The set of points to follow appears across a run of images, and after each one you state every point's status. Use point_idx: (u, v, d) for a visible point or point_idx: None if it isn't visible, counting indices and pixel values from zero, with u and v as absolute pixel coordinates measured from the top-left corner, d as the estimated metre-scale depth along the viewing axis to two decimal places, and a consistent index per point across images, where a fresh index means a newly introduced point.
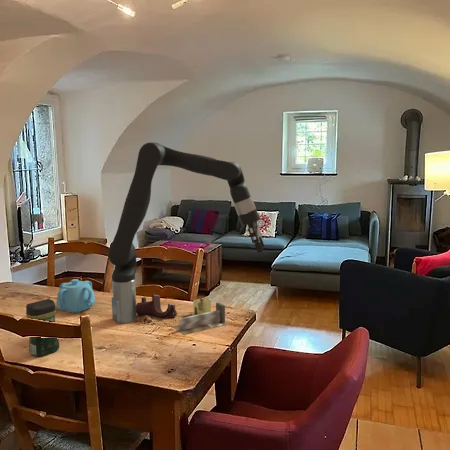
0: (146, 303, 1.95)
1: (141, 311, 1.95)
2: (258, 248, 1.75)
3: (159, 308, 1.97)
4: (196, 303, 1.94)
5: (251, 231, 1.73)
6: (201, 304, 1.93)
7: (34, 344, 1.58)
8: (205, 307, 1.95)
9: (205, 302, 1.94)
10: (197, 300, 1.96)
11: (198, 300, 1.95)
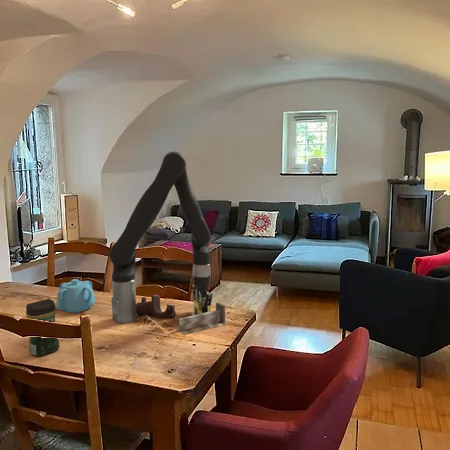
0: (146, 303, 1.95)
1: (141, 311, 1.95)
2: (205, 311, 1.93)
3: (159, 308, 1.97)
4: (196, 303, 1.94)
5: (209, 297, 1.90)
6: (201, 304, 1.93)
7: (34, 344, 1.58)
8: None
9: None
10: (197, 300, 1.96)
11: (198, 300, 1.95)
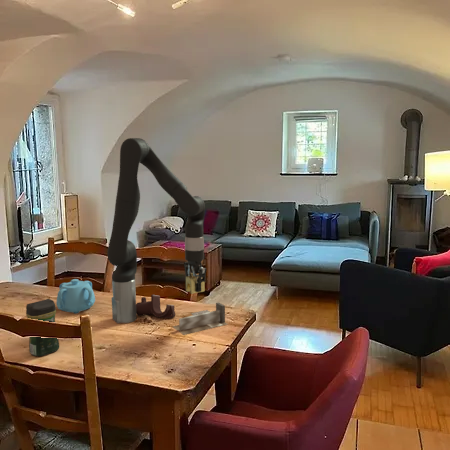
0: (145, 303, 1.95)
1: (141, 310, 1.95)
2: (199, 288, 1.80)
3: (159, 309, 1.97)
4: (189, 279, 1.80)
5: (203, 272, 1.76)
6: (194, 280, 1.79)
7: (34, 344, 1.58)
8: None
9: None
10: (189, 276, 1.82)
11: (191, 276, 1.82)
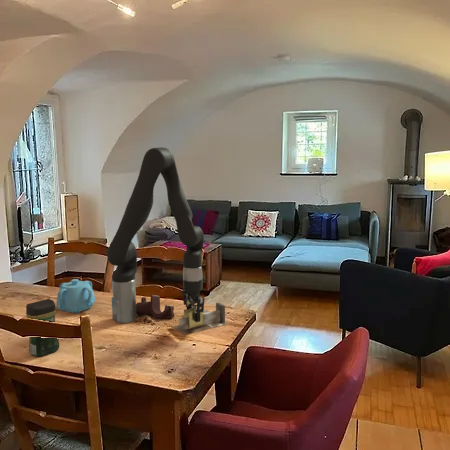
0: (145, 303, 1.95)
1: (140, 311, 1.95)
2: (198, 318, 1.78)
3: (158, 309, 1.97)
4: (187, 313, 1.79)
5: (201, 302, 1.75)
6: (192, 314, 1.79)
7: (34, 344, 1.58)
8: None
9: None
10: (188, 309, 1.81)
11: (189, 310, 1.81)
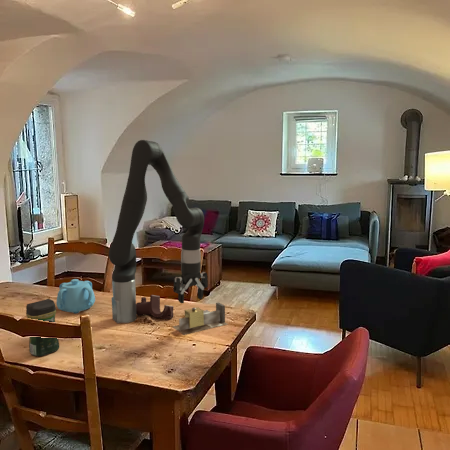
0: (145, 303, 1.95)
1: (140, 310, 1.95)
2: (178, 298, 1.76)
3: (158, 309, 1.96)
4: (187, 313, 1.79)
5: (175, 281, 1.73)
6: (193, 314, 1.78)
7: (34, 344, 1.58)
8: (197, 318, 1.80)
9: (197, 312, 1.79)
10: (188, 310, 1.81)
11: (190, 310, 1.81)
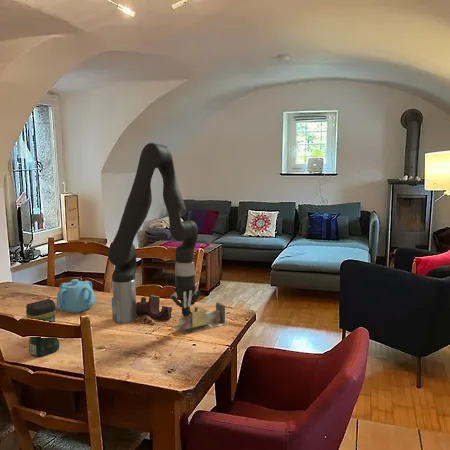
0: (144, 303, 1.95)
1: (139, 310, 1.95)
2: (182, 312, 1.79)
3: (157, 309, 1.96)
4: (190, 313, 1.79)
5: (172, 299, 1.75)
6: (195, 314, 1.79)
7: (34, 344, 1.58)
8: (200, 318, 1.80)
9: (200, 312, 1.80)
10: (191, 309, 1.82)
11: (192, 310, 1.81)
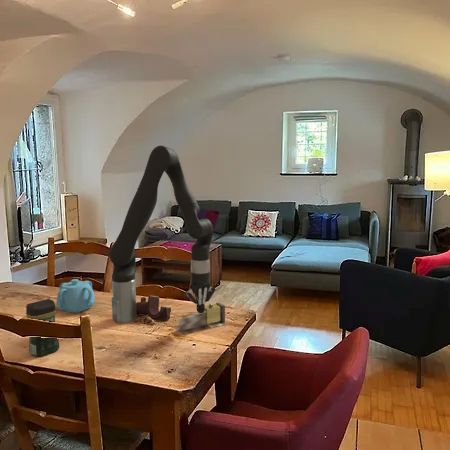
0: (143, 303, 1.95)
1: (138, 310, 1.95)
2: (197, 308, 1.82)
3: (157, 310, 1.96)
4: (205, 310, 1.83)
5: (188, 296, 1.79)
6: (210, 311, 1.82)
7: (34, 344, 1.58)
8: (214, 314, 1.84)
9: (214, 309, 1.83)
10: (205, 306, 1.85)
11: (207, 306, 1.85)
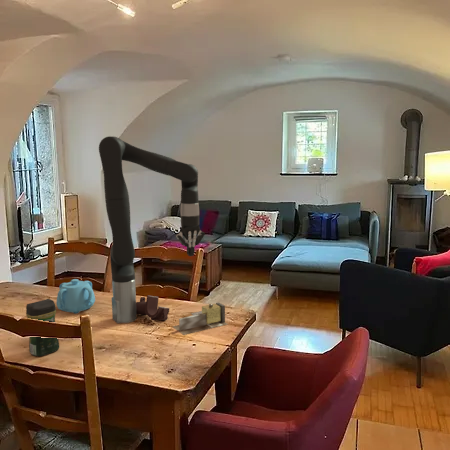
0: (142, 303, 1.95)
1: (137, 310, 1.95)
2: (187, 251, 1.89)
3: (155, 310, 1.95)
4: (205, 310, 1.83)
5: (178, 238, 1.86)
6: (210, 311, 1.82)
7: (34, 344, 1.58)
8: (214, 314, 1.84)
9: (214, 308, 1.83)
10: (205, 306, 1.85)
11: (207, 306, 1.85)
